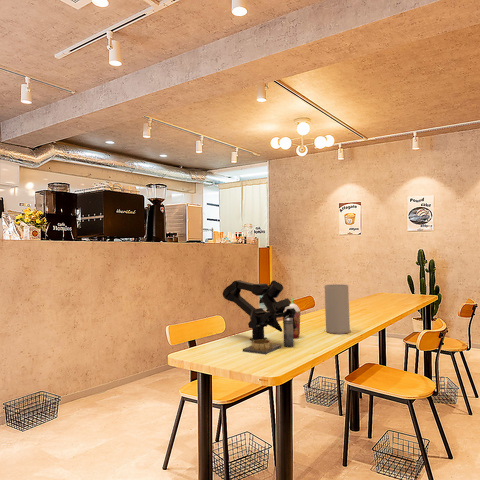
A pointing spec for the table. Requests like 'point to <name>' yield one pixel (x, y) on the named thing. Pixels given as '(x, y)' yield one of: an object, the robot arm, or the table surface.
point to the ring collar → (261, 346)
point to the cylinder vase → (337, 309)
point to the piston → (288, 332)
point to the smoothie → (295, 318)
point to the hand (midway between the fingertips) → (288, 329)
